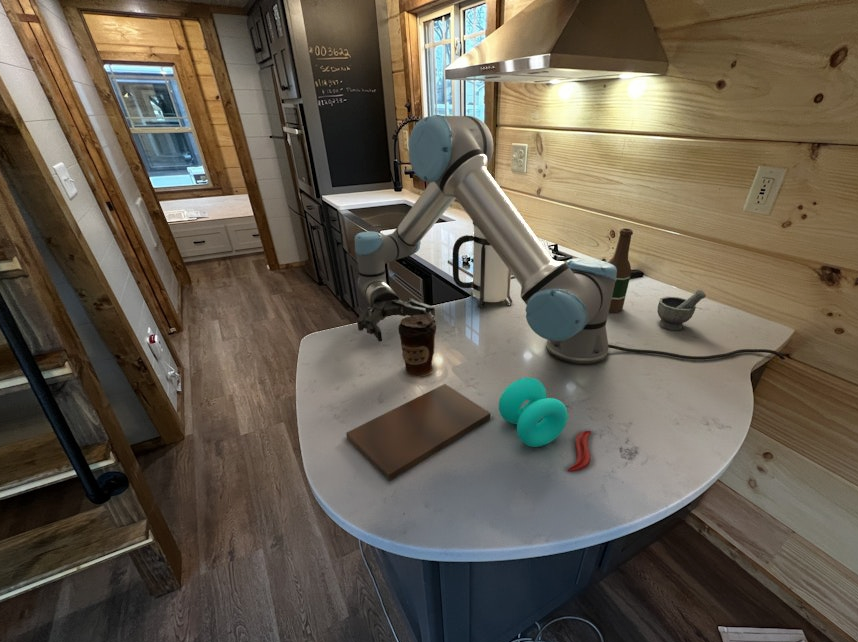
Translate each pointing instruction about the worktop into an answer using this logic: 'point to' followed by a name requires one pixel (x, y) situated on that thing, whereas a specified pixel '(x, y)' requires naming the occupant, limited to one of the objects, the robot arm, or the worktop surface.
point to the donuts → (533, 412)
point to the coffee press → (484, 271)
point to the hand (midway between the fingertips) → (407, 331)
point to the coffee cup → (417, 344)
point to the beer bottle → (621, 270)
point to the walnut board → (416, 430)
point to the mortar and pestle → (677, 310)
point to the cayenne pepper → (581, 451)
